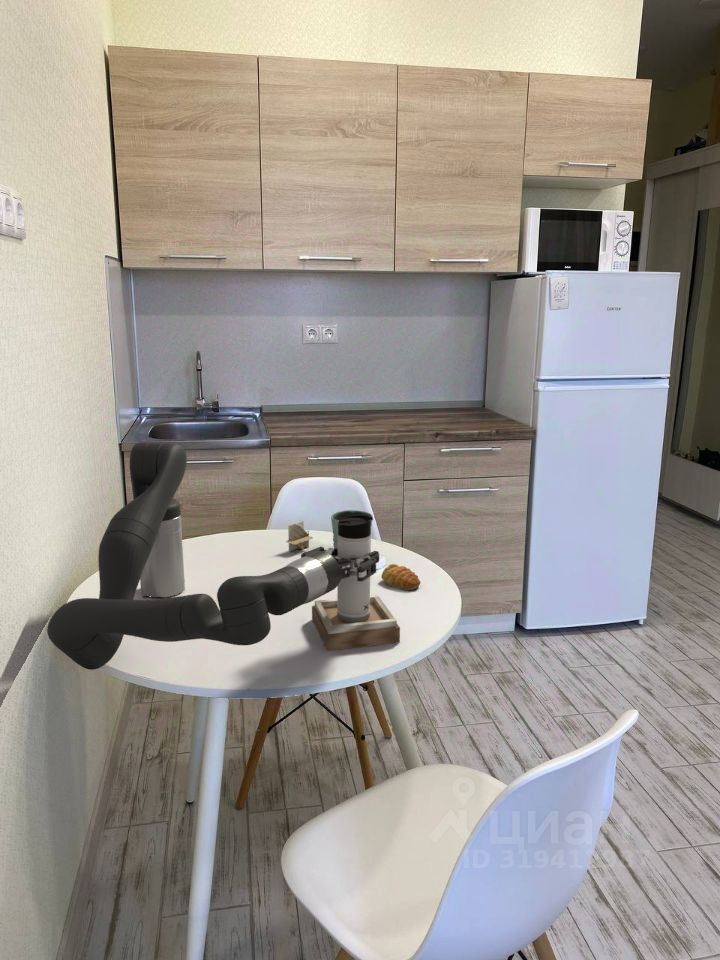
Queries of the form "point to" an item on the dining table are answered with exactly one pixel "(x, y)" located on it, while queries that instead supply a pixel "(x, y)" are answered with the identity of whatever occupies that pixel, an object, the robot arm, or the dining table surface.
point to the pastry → (400, 577)
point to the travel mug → (349, 590)
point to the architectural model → (298, 536)
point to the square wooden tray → (354, 626)
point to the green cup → (340, 515)
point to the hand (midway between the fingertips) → (361, 552)
